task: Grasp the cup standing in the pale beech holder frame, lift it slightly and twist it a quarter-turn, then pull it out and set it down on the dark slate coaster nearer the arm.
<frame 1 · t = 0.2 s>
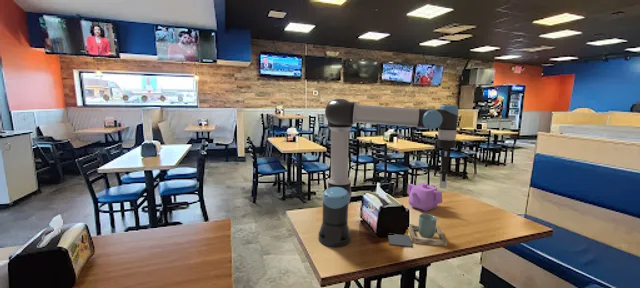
hand: (442, 184, 130), 26 cm above the table, fingers open, 13 cm apart
coaster: (399, 240, 129), on the table
cup: (426, 237, 134), resting in holder
holder: (426, 236, 134), on the table
teapot: (422, 207, 171), on the table
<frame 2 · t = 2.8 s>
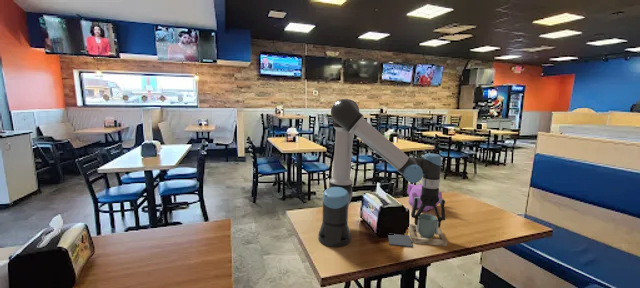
hand: (426, 232, 133), 2 cm above the table, fingers closed on cup, 8 cm apart
cup: (426, 236, 134), resting in holder, touching gripper
everything else where it was.
when the fingers open (4 cm above the table, at t = 8.4 s): cup drops 1 cm, resting on coaster.
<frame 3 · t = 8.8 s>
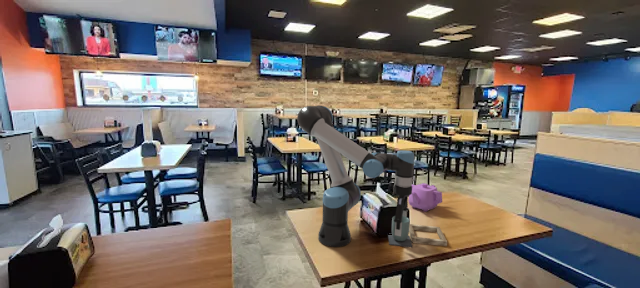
hand: (400, 229, 128), 6 cm above the table, fingers open, 13 cm apart
cup: (399, 239, 129), resting on coaster
everything else where it was.
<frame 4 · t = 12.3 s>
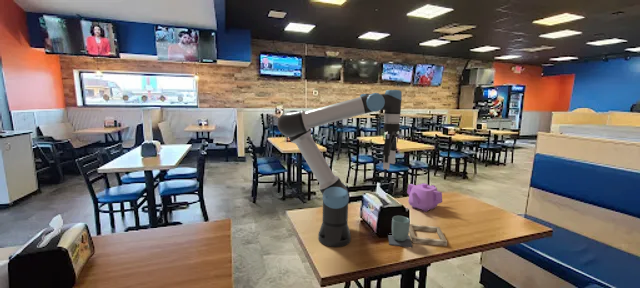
hand: (389, 166, 136), 33 cm above the table, fingers open, 13 cm apart
nothing on the table moved.
at the end: cup inside the target area on the coaster (0.2 cm from its centre), point 0.4 cm above the coaster's base; cup tilted 0°; the gripper is holding nothing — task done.
